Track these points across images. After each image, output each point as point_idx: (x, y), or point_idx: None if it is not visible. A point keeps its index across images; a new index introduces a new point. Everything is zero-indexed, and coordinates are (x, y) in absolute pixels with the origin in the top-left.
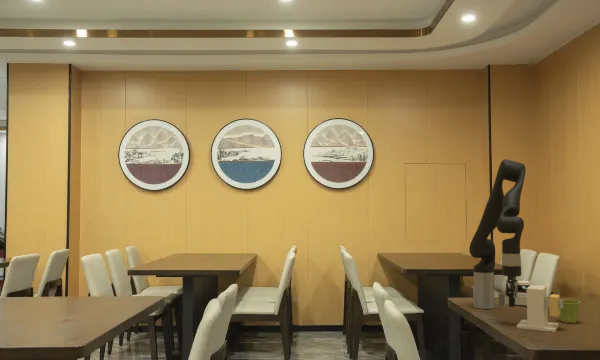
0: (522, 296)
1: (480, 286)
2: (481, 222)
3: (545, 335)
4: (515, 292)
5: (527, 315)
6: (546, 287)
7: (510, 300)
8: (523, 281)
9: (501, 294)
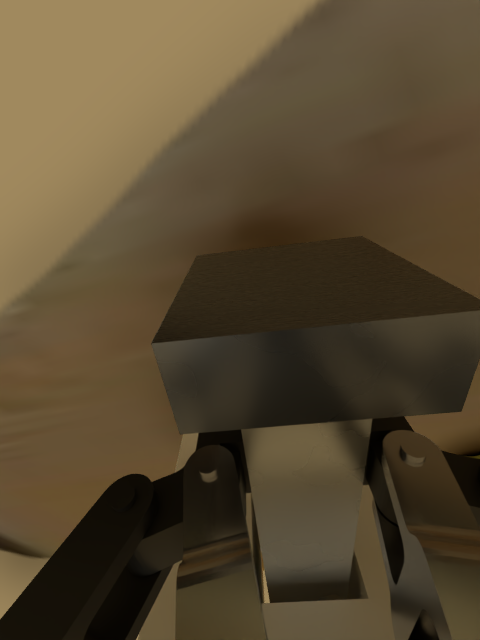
0: None
1: None
2: None
3: (117, 458)
4: (387, 560)
5: (180, 449)
6: None
7: (202, 434)
8: None
9: (173, 393)
